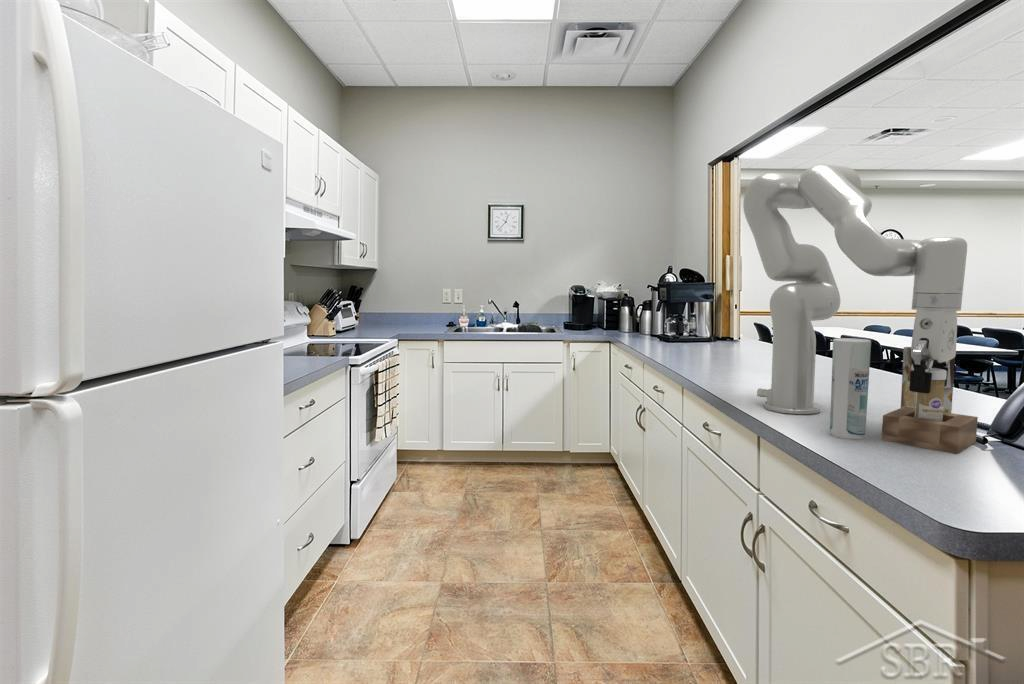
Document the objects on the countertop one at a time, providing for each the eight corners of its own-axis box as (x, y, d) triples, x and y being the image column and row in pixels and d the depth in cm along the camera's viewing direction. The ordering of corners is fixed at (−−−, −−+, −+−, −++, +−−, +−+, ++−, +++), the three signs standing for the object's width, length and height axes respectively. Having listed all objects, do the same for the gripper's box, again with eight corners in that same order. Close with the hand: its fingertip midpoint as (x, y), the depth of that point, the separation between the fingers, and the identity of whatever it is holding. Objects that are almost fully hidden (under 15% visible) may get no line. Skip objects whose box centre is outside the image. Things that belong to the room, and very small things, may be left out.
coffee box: (952, 421, 119) (957, 350, 117) (921, 420, 120) (926, 350, 118) (926, 411, 128) (931, 346, 126) (898, 411, 129) (902, 346, 127)
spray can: (841, 429, 114) (845, 337, 111) (872, 436, 108) (878, 339, 106) (822, 433, 111) (826, 339, 109) (853, 441, 105) (858, 341, 103)
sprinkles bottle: (926, 439, 102) (931, 370, 101) (906, 432, 107) (911, 367, 105) (948, 438, 103) (953, 370, 101) (927, 431, 107) (932, 366, 106)
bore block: (881, 439, 106) (882, 415, 105) (903, 429, 113) (904, 406, 112) (957, 454, 96) (959, 427, 96) (975, 441, 103) (977, 416, 103)
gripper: (946, 304, 94) (937, 398, 96) (974, 301, 104) (965, 386, 106) (896, 303, 100) (889, 391, 102) (927, 300, 110) (920, 380, 112)
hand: (928, 388), depth 104 cm, fingers open, 9 cm apart
